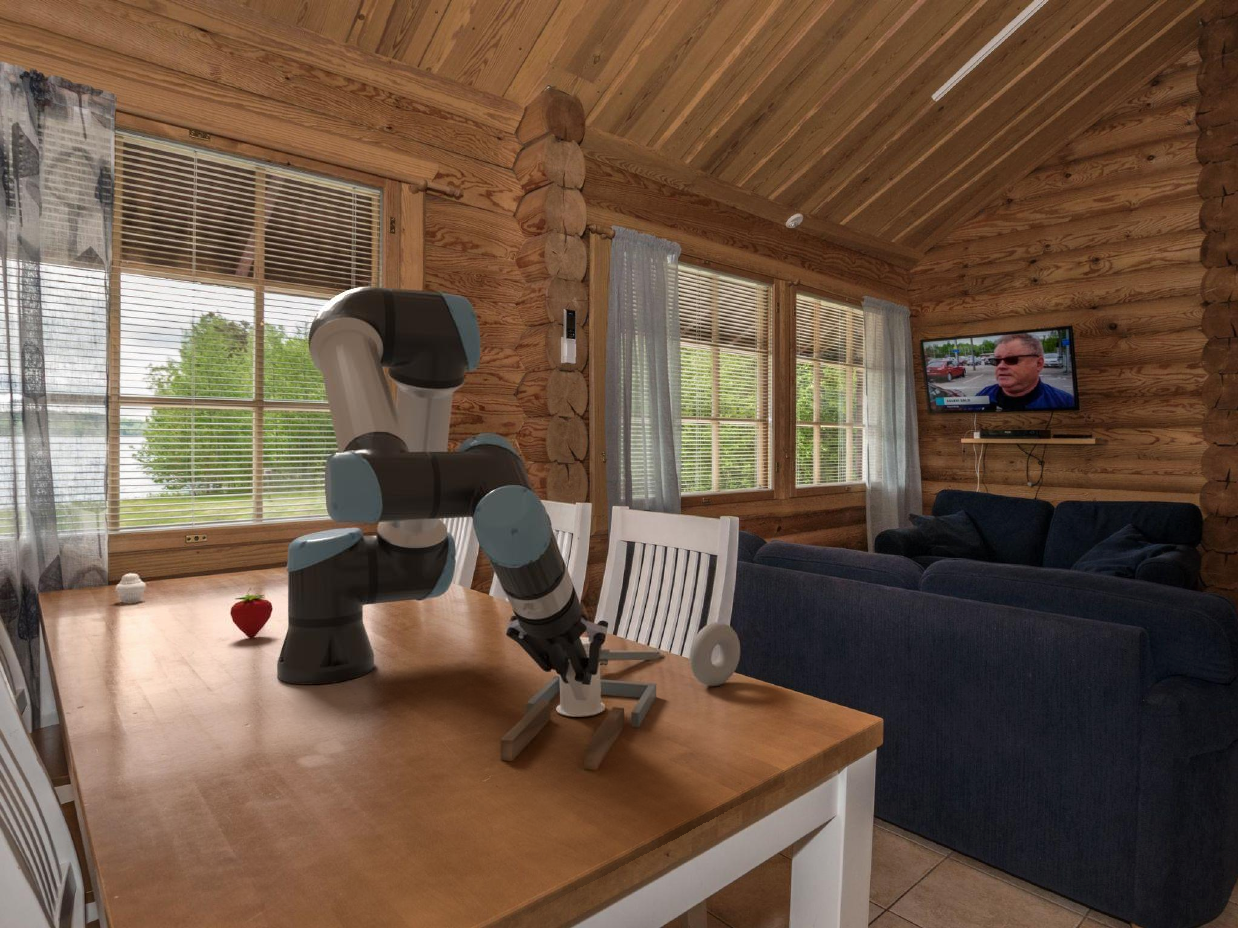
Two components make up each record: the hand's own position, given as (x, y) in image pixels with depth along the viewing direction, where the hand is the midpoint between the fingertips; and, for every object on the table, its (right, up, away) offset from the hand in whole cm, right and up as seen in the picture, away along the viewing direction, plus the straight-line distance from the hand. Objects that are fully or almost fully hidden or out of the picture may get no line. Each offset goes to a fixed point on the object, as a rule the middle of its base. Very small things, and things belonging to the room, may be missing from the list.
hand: (583, 690), depth 104 cm
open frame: (+1, -4, +5) cm, 7 cm away
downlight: (-1, -4, +4) cm, 6 cm away
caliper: (+5, -4, +24) cm, 25 cm away
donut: (+20, -4, +15) cm, 25 cm away
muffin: (-111, -2, +76) cm, 135 cm away
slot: (-2, -4, -7) cm, 9 cm away
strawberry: (-67, -3, +43) cm, 80 cm away
